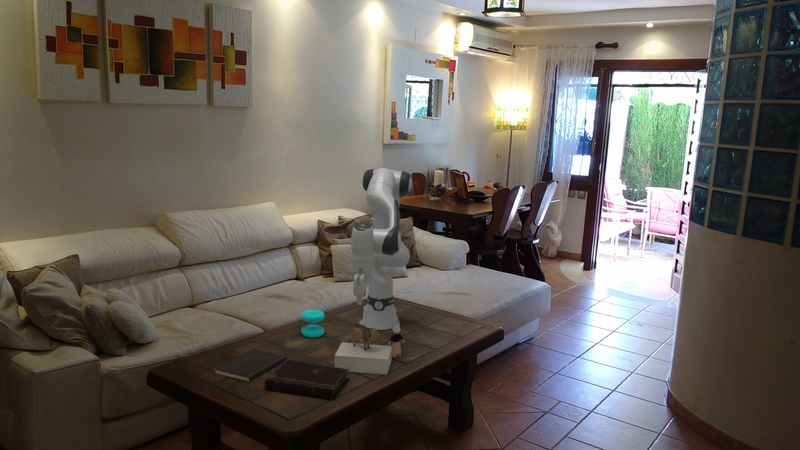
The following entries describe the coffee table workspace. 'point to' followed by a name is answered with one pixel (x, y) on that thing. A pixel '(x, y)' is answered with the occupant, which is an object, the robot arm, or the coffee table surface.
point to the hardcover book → (250, 365)
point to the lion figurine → (364, 336)
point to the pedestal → (364, 358)
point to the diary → (307, 379)
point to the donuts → (312, 329)
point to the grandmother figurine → (396, 341)
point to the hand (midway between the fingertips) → (361, 300)
